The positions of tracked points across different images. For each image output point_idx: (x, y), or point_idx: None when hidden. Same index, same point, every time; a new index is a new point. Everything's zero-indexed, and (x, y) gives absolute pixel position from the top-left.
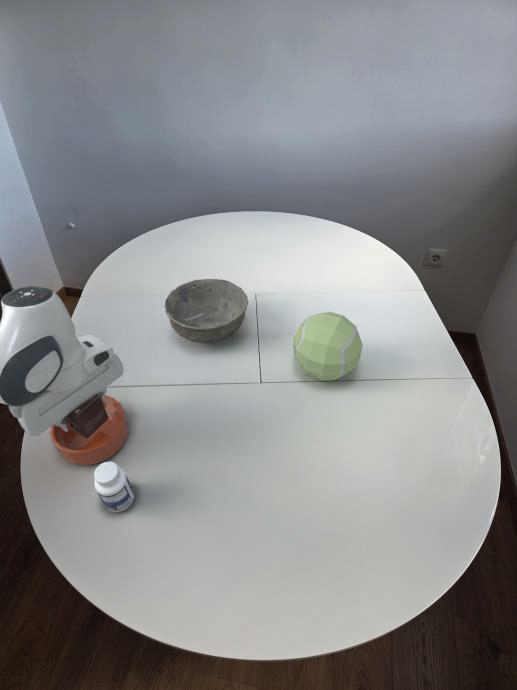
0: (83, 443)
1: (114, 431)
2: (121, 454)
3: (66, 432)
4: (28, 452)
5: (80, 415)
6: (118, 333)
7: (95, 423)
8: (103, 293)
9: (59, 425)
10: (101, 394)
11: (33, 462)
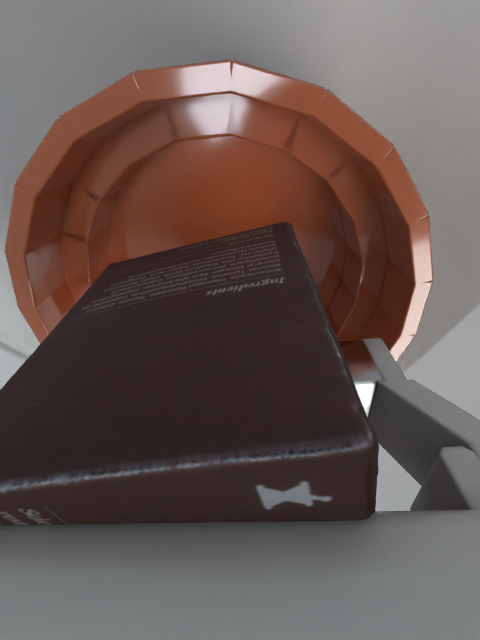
0: None
1: (147, 217)
2: (180, 56)
3: None
4: (413, 360)
5: (290, 410)
6: None
7: (190, 265)
8: None
9: (467, 422)
10: None
11: (437, 321)
